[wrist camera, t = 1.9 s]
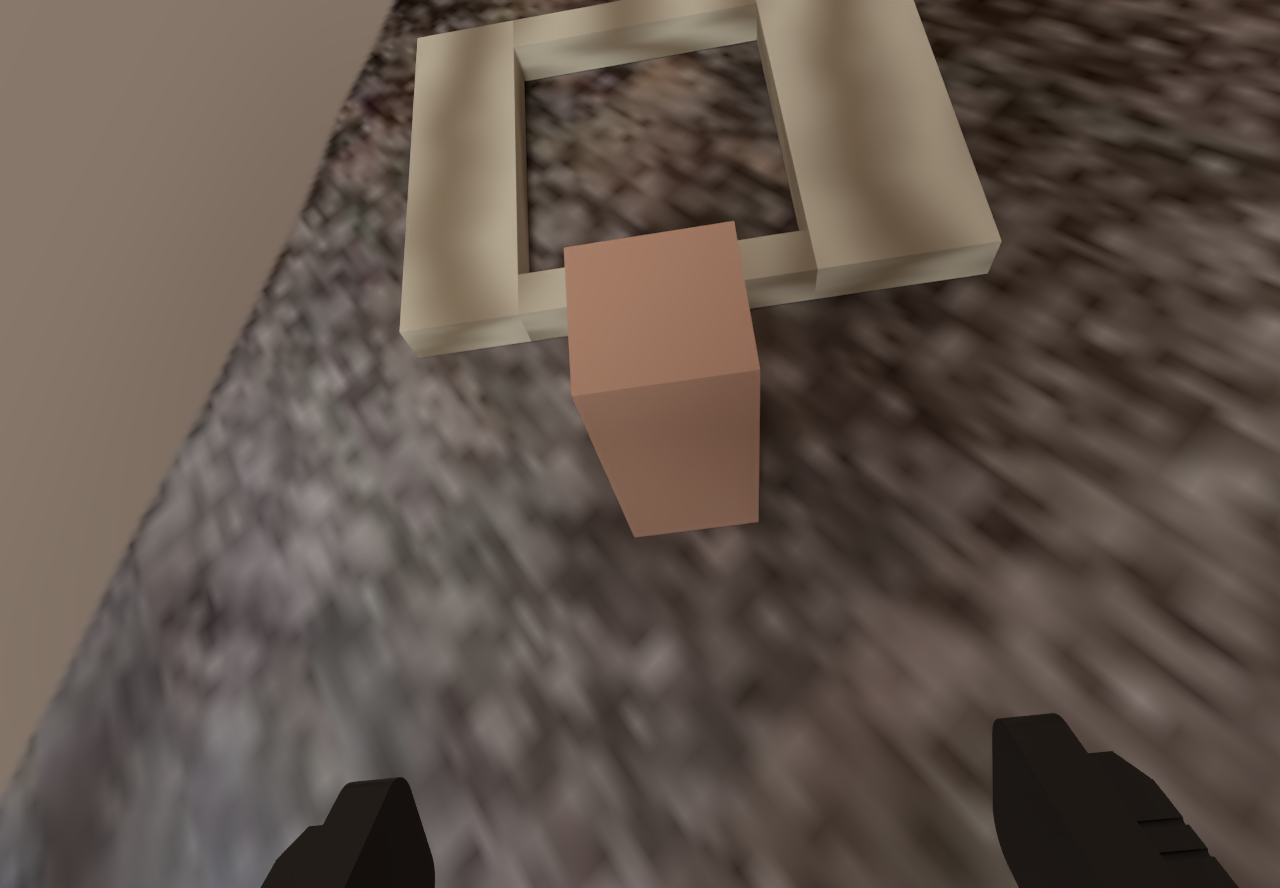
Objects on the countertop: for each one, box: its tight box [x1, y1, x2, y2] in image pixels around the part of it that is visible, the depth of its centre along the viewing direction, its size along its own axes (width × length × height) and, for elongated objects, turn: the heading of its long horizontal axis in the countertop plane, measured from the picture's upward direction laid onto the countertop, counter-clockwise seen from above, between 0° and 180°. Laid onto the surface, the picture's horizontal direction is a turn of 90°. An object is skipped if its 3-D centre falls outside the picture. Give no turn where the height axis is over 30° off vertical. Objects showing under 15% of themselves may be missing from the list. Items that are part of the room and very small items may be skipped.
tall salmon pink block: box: [564, 221, 760, 537], centre depth 25 cm, size 5×5×11 cm
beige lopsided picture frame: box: [400, 0, 1002, 358], centre depth 35 cm, size 24×18×2 cm
